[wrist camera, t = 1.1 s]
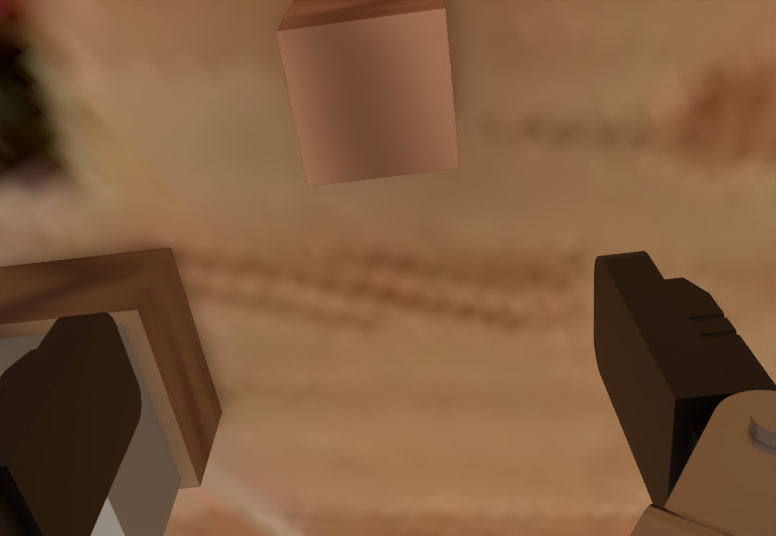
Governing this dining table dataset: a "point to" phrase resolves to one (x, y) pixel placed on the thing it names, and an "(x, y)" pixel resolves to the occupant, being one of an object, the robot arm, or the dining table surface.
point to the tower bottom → (129, 335)
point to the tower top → (127, 462)
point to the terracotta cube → (369, 87)
